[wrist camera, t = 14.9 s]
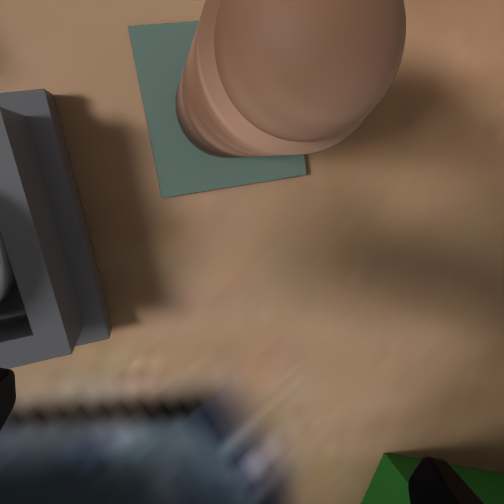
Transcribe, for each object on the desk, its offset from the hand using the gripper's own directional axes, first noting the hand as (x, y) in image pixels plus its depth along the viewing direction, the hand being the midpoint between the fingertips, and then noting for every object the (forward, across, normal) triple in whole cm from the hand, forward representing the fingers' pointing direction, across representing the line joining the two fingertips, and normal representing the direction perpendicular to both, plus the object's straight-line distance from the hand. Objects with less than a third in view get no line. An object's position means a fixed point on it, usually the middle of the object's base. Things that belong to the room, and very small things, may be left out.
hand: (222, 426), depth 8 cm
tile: (+15, +3, -5) cm, 16 cm away
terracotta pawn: (+15, +3, -5) cm, 16 cm away
